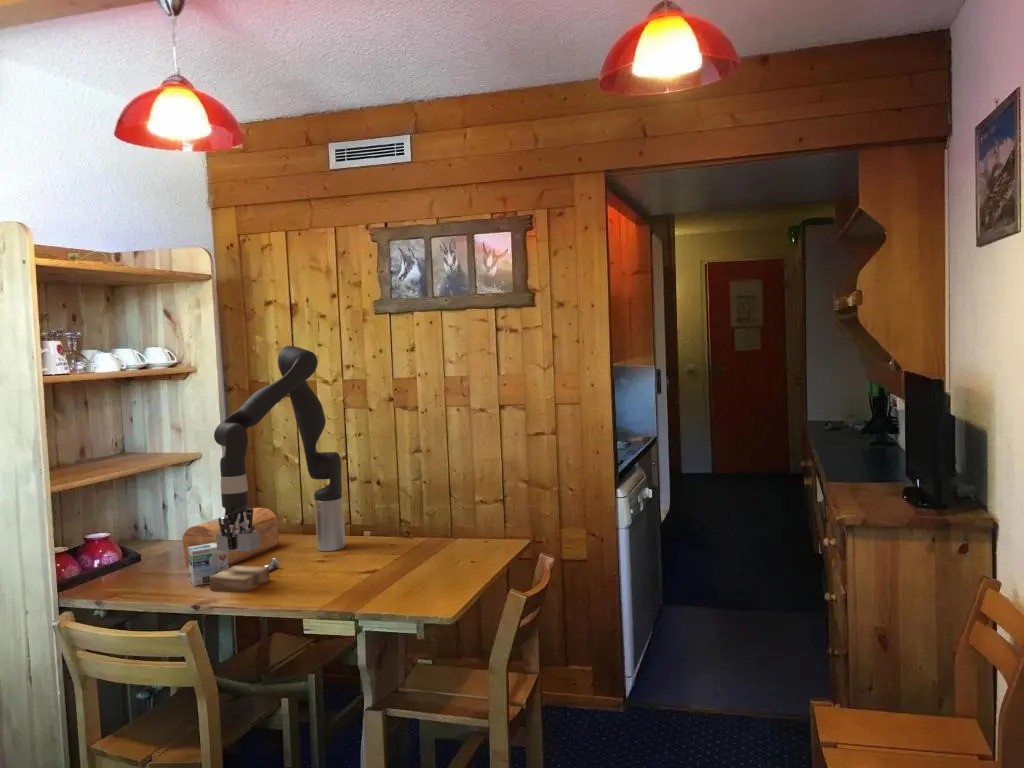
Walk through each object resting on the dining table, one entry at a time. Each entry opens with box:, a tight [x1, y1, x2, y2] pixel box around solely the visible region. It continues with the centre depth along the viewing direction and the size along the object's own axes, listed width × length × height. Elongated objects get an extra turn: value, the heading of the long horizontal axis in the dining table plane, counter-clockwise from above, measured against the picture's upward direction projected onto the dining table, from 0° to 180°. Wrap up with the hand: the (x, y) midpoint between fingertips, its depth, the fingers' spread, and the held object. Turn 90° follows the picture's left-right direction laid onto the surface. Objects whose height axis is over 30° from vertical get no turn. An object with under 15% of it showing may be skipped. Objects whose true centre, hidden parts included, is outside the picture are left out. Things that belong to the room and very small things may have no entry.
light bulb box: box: [188, 542, 230, 587], centre depth 248 cm, size 11×7×11 cm, turn 122°
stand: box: [209, 565, 271, 593], centre depth 242 cm, size 12×12×4 cm
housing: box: [216, 530, 260, 551], centre depth 241 cm, size 11×5×5 cm, turn 74°
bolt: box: [263, 557, 281, 572], centre depth 256 cm, size 6×3×3 cm, turn 163°
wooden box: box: [181, 507, 280, 567], centre depth 277 cm, size 30×16×14 cm, turn 156°
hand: (238, 546), depth 241 cm, fingers closed on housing, 5 cm apart
